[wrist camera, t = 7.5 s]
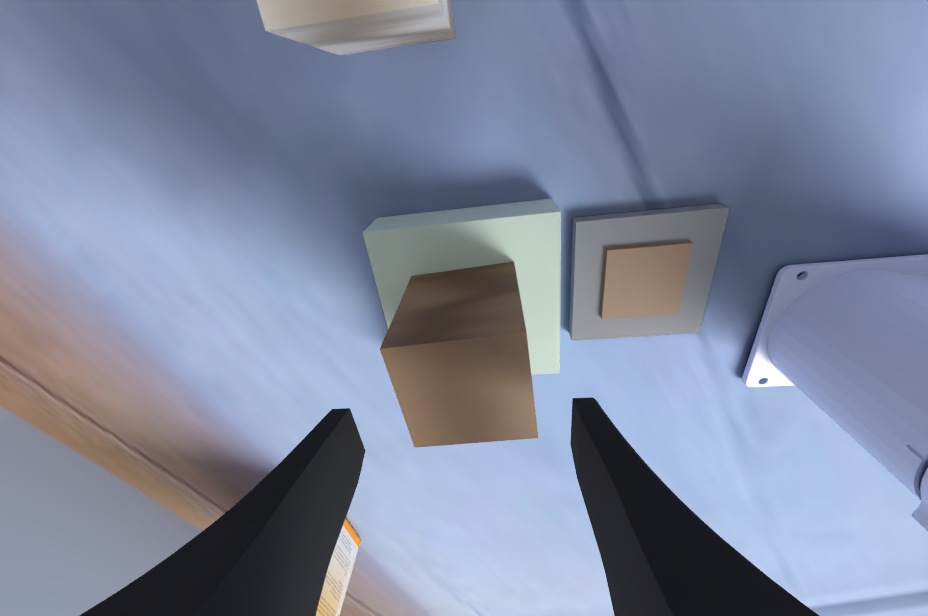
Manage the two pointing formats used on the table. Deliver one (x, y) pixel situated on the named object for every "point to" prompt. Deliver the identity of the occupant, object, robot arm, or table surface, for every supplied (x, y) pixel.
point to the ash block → (358, 23)
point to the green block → (479, 260)
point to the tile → (643, 271)
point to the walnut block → (462, 357)
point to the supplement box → (339, 572)
